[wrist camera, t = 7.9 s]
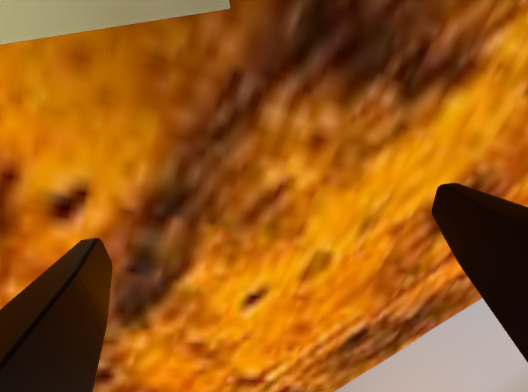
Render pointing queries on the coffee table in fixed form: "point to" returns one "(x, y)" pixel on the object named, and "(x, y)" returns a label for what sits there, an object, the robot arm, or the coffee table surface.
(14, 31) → the baseplate
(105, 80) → the coffee table surface
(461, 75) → the coffee table surface
